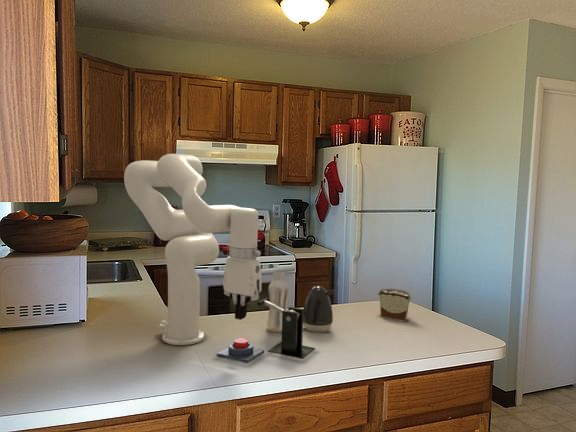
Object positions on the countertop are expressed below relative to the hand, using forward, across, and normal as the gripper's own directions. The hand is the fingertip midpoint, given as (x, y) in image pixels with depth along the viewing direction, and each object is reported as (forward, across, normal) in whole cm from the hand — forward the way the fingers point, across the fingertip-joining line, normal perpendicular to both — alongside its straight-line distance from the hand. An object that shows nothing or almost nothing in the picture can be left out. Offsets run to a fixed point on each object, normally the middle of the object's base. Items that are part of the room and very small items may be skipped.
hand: (240, 317), depth 133 cm
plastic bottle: (+12, 0, -24) cm, 26 cm away
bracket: (+11, -12, -10) cm, 19 cm away
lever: (0, -7, -10) cm, 12 cm away
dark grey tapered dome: (+11, -11, -32) cm, 35 cm away
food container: (+11, -30, -62) cm, 69 cm away
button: (+8, -1, 0) cm, 8 cm away
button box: (+11, -1, 0) cm, 11 cm away
